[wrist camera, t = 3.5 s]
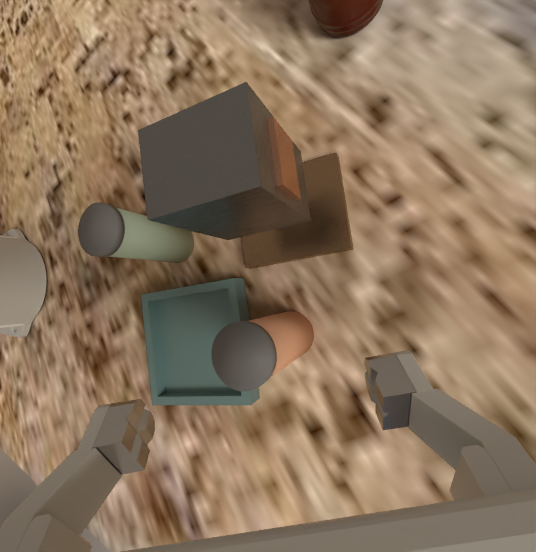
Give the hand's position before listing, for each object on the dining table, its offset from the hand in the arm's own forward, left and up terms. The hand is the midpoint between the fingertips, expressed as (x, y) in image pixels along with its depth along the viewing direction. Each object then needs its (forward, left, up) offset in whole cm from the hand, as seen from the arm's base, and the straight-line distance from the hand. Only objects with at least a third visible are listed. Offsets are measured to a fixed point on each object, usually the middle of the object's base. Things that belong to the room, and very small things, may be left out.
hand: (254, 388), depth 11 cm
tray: (-19, -1, -23) cm, 30 cm away
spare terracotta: (-7, -1, -23) cm, 24 cm away
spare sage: (-21, +12, -23) cm, 33 cm away
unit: (-5, +12, -23) cm, 26 cm away
